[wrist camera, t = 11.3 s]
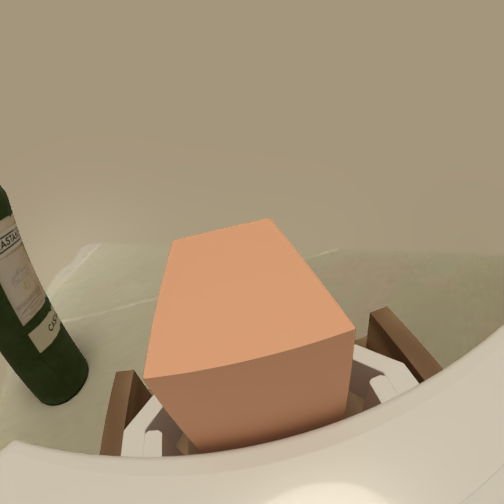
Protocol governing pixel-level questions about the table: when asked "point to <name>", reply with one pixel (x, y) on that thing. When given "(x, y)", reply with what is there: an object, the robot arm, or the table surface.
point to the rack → (378, 340)
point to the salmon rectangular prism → (247, 340)
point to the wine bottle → (33, 323)
